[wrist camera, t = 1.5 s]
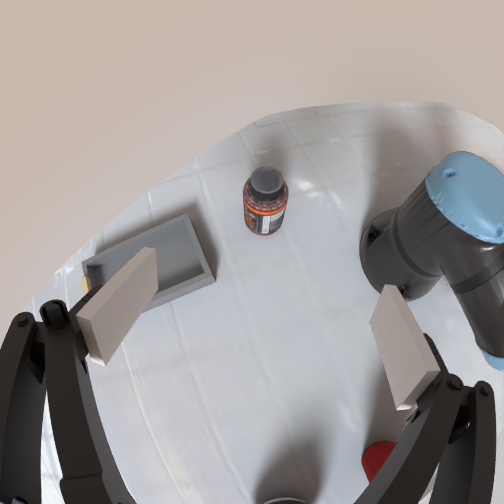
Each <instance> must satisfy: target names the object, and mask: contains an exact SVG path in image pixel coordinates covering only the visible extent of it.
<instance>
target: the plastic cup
mask: <svg viewBox="0 0 504 504" xmlns="http://www.w3.org/2000/svg"><path fill="white" fill-rule="evenodd" d="M396 444H397V443H392V442H388V441H381V442H377V443H375V444H373V445H371V446H370V447H369V448H368V449H367V450H366V451H365V453H364V454H363V456H362V466H363V469H364V471H365V473H366V476H367V479H368V481H369V483H371V481H372V480H373V479H374V477H375V476H376V474H377V473H378V472H379V470H380V469H381V467H382V466H383V464H384V463H385V461H386V460H387V458H388V457H389V455H390V454H391V452H392V450H393V449H394V447H395V446H396ZM438 465H439V464H438ZM437 470H438V466H437V468H436V470H435V472H434V474H433V476H432V478H431V480H430V482H429V484H428V486H427V488H426V490H425V492H424V494H423V496H422V497H421V499H420V501H419V503H420V502H422V501H423V500H424V499H425V498H426V497H427V496H428V495H429V494H430V493H431V492H432V491H433V487H434V483H435V479H436V474H437Z"/></svg>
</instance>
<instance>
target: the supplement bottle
mask: <svg viewBox="0 0 504 504" xmlns="http://www.w3.org/2000/svg"><path fill="white" fill-rule="evenodd" d="M287 200H288V187H287V185H286V183H285V182H284V180H283V177H282V175H281V173H280V172H279V171H278V170H276V169H274V168H272V167H261V168H258V169H256V170H255V171H254V172H253V173H252V175H251V177H250V178H249V179H248V180H247V182H246V183H245V185H244V189H243V203H244V217H245V222H246V225H247V227H248V228H249V229H250V230H251V231H252V232H254V233H256V234H258V235H270V234H273V233H274V232H276V231H277V230H278V229H279V228H280V226H281V224H282V221H283V217H284V213H285V209H286V204H287Z"/></svg>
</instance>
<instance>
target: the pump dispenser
mask: <svg viewBox="0 0 504 504" xmlns="http://www.w3.org/2000/svg"><path fill="white" fill-rule="evenodd" d="M264 504H308V503H306V502H304V501H302V500H299V499H296V498H290V497H282V498H276V499H272V500H270V501H267V502H265V503H264Z"/></svg>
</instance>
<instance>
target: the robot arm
mask: <svg viewBox="0 0 504 504" xmlns="http://www.w3.org/2000/svg"><path fill="white" fill-rule="evenodd" d="M360 260H361V264H362V268H363V270H364V273H365V275H366V277H367V279H368V280H369V282H370V283H371V285H372V286H373V287H374V288H375V289H376V290H377V291H378V292H379V293H380V294H381V295H380V298H379V300H378V303H377V305H376V308H375V310H374V312H373V315H372V317H371V319H370V325H371V328H372V331H373V334H374V337H375V340H376V343H377V346H378V349H379V352H380V355H381V358H382V361H383V365H384V368H385V371H386V374H387V378H388V381H389V385H390V388H391V392H392V396H393V399H394V403H395V407H396V410H405V409H410V408H411V407H412V406H413V405H414V403H415V402H417V405H418V408H417V409H416V410H415V411H414V412H413V414H412V415H411V416H410V417H409V418H408V419H407V420H406V421H409V420H410V421H409V423H408V425H407V427H406V428H405V430H404V432H403V434H402V435H401V437H400V439H399V441H398V442H397V444H396V446H395V447H394V449H393V450H392V452H391V454H390V455H389V457H388V458H387V460H386V461H385V463H384V464H383V466H382V467H381V469H380V470H379V472H378V473H377V474H376V476H375V477H374V479H373V480H372V481H371V483H370V484H369V485H368V487H367V488H366V489H365V490H364V492H363V493H362V494H361V496H360V497H359V498H358V499H357V500H356V502H355V503H354V504H418V503H419V501H420V499H421V497H422V496H423V494H424V492H425V490H426V488H427V486H428V484H429V482H430V480H431V478H432V476H433V474H434V472H435V470H436V468H437V466H438V470H437V474H436V479H435V483H434V487H433V491H432V494H431V498H430V501H429V504H490V503H491V497H492V490H493V482H494V474H495V461H496V413H495V400H494V392H493V389H492V387H491V385H490V384H489V383H487V382H485V381H478V382H477V383H476V384H475V386H474V387H469V386H464V385H463V382H462V380H461V379H460V378H459V377H458V376H456V375H454V374H449V372H448V370H447V368H446V366H445V364H444V362H443V360H442V358H441V356H440V354H439V352H438V350H437V349H436V346H435V344H434V342H433V340H432V339H431V338H430V337H429V336H428V335H427V334H425V333H422V331H421V329H420V327H419V326H418V324H417V322H416V320H415V318H414V316H413V314H412V313H411V311H410V309H409V307H408V306H407V304H406V302H408V301H412V300H415V299H418V298H420V297H422V296H424V295H425V294H427V293H428V292H429V291H430V290H431V289H432V288H433V286H434V285H435V284H436V283H437V281H438V280H439V279H440V278H441V276H442V275H445V277H446V279H447V281H448V282H449V284H450V286H451V288H452V289H453V292H454V294H455V295H456V297H457V299H458V301H459V303H460V305H461V307H462V309H463V311H464V313H465V315H466V317H467V319H468V322H469V324H470V326H471V328H472V330H473V333H474V335H475V341H476V343H477V346H478V347H479V349H480V350H481V351H482V353H483V355H484V357H485V360H486V361H487V363H488V364H489V365H490V366H491V367H493V368H495V369H497V370H500V371H504V176H503V175H502V174H501V173H500V172H499V171H498V170H497V169H496V168H495V167H494V166H493V165H492V164H491V163H489V162H488V161H487V160H485V159H483V158H482V157H480V156H477V155H475V154H473V153H470V152H466V151H456V152H453V153H450V154H448V155H447V156H446V157H445V158H444V159H443V160H442V161H441V162H440V163H439V164H438V165H437V166H435V167H434V168H432V169H431V170H430V171H429V172H428V175H427V176H426V178H425V179H424V181H423V182H422V183H421V184H420V185H419V186H418V188H417V189H416V190H415V191H414V192H413V193H412V194H411V195H410V197H409V198H408V199H407V200H406V201H405V202H404V203H403V204H402V206H401V207H398V208H395V209H392V210H389V211H386V212H384V213H382V214H380V215H378V216H377V217H376V218H375V219H374V220H373V221H372V222H371V223H370V224H369V225H368V226H367V228H366V229H365V231H364V233H363V235H362V238H361V242H360ZM157 290H158V279H157V263H156V249H154V248H148V247H143V248H142V249H141V250H140V251H139V252H138V253H137V254H136V255H135V256H134V257H133V258H132V259H131V260H129V261H128V262H127V263H126V264H125V265H124V266H123V267H122V268H121V269H120V270H119V271H118V272H117V273H116V274H115V275H114V276H113V277H112V278H111V279H110V280H109V281H108V282H107V283H106V284H105V285H102V284H99V285H97V286H95V287H93V288H92V289H91V290H90V291H89V292H88V293H87V294H86V296H84V297H83V298H82V299H81V300H80V301H79V302H78V303H77V304H76V305H75V306H74V307H73V308H72V309H71V310H70V311H69V312H68V311H67V308H66V304H65V303H64V302H63V301H62V300H51V301H48V302H46V303H44V304H43V305H42V306H41V308H40V311H39V312H40V315H41V317H42V320H43V322H36V321H35V318H34V316H33V314H32V313H30V312H22V313H19V314H18V315H17V316H15V317H14V319H13V320H12V322H11V325H10V327H9V329H8V332H7V334H6V336H5V339H4V341H3V344H2V346H1V349H0V504H41V501H42V499H41V435H42V422H43V412H44V404H45V397H46V390H47V395H48V404H49V412H50V419H51V425H52V430H53V436H54V441H55V445H56V450H57V454H58V458H59V462H60V466H61V470H62V474H63V478H62V479H61V480H60V489H61V493H62V496H63V499H64V502H65V504H137V503H136V502H135V500H134V499H133V497H132V496H131V495H130V493H129V492H128V490H127V488H126V486H125V484H124V481H123V479H122V477H121V475H120V472H119V470H118V468H117V465H116V463H115V460H114V457H113V455H112V452H111V450H110V447H109V444H108V441H107V438H106V435H105V432H104V429H103V426H102V423H101V419H100V416H99V413H98V409H97V405H96V402H95V398H94V394H93V390H92V385H91V381H90V376H89V372H88V366H87V362H86V360H85V357H86V356H87V354H88V353H89V354H90V357H91V359H92V361H93V362H96V363H98V364H101V365H103V366H106V365H107V363H108V361H109V360H110V358H111V357H112V355H113V354H114V352H115V351H116V349H117V348H118V346H119V345H120V343H121V342H122V340H123V339H124V337H125V336H126V334H127V333H128V331H129V330H130V329H131V327H132V326H133V324H134V323H135V321H136V320H137V318H138V317H139V316H140V314H141V313H142V311H143V310H144V308H145V307H146V306H147V304H148V303H149V301H150V300H151V299H152V297H153V296H154V294H155V293H156V292H157ZM469 422H470V423H469ZM468 423H469V427H468ZM438 464H439V465H438Z"/></svg>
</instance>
